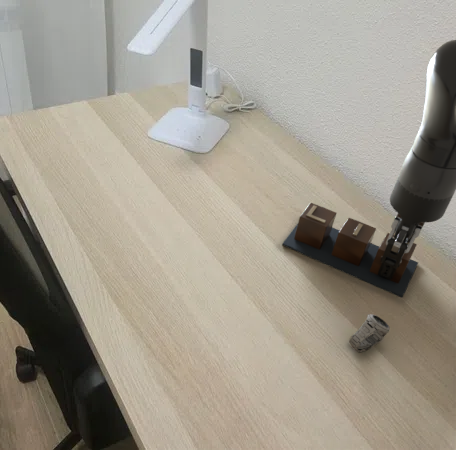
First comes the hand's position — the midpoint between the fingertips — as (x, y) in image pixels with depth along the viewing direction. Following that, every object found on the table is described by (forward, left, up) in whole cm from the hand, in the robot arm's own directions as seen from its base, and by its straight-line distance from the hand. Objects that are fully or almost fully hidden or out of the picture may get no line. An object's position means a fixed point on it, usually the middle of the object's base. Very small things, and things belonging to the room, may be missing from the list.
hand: (389, 266), depth 88 cm
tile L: (+13, 0, -1) cm, 13 cm away
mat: (+6, 0, -1) cm, 6 cm away
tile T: (0, 0, -1) cm, 1 cm away
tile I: (+6, 0, -1) cm, 6 cm away
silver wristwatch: (-2, +17, -1) cm, 17 cm away
